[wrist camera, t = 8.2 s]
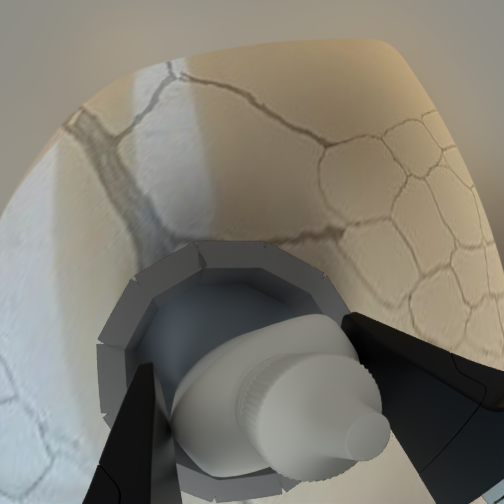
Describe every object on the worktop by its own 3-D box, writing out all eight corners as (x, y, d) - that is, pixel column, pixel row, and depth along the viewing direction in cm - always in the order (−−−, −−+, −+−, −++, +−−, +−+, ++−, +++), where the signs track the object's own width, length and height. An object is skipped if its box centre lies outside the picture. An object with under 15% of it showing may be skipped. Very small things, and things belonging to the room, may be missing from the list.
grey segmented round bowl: (197, 515, 13) (203, 552, 9) (64, 326, 15) (33, 318, 11) (373, 390, 17) (415, 394, 13) (258, 215, 19) (277, 181, 15)
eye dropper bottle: (169, 338, 14) (118, 292, 3) (281, 328, 16) (474, 260, 5) (179, 426, 13) (180, 595, 2) (292, 410, 15) (488, 479, 3)
